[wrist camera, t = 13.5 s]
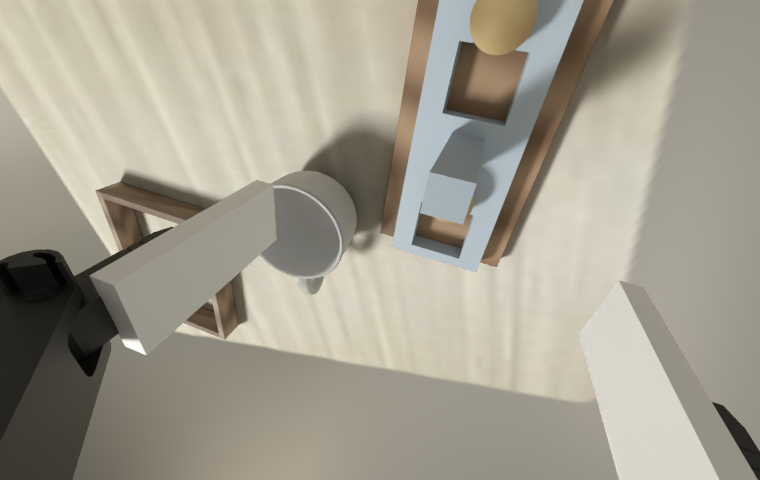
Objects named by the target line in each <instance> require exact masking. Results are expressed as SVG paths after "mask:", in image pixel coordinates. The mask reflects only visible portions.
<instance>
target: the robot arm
mask: <svg viewBox="0 0 760 480" xmlns="http://www.w3.org/2000/svg"><path fill="white" fill-rule="evenodd" d="M276 240H277V237H276V222H275V206H274V190H273V184H269V183H266V182H262V181H258V180H256V181H254V182H252V183H251V184H249V185H247V186H245V187H244V188H242V189H240V190H238V191H237V192H235V193H233V194H231V195H230V196H228V197H226V198H224V199H223V200H221V201H219V202H217V203H216V204H214V205H212V206H210V207H209V208H207V209H205V210H203V211H202V212H200V213H198V214H196V215H195V216H193V217H191V218H189V219H188V220H186V221H184V222H182V223H181V224H179V225H177V226H175V227H170V228H167V229H163V230H160V231H157V232H154V233H152V234H150V235H148V236H147V237H145V238H143V239H141V240H139V242H138V243H134V244H132V245H130V246H129V247H127V249H126V250H124V249H123V250H121V251H120V252H118V253H116V254H114V255H112V256H111V257H109V258H107V259H105V260H103V261H101V262H100V263H98V264H96V265H94V266H93V267H91V268H89V269H87V270H85V271H84V272H82V273H80V274H78V275H76V276H74V275H73V274H72V272H71V270H70V268H69V266H68V264H67V263H66V261H65V259H64V257H63V256H62V255H61V254H60V253H59V252H57V251H54V250H32V251H26V252H22V253H18V254H15V255H12V256H9V257H7V258H5V259H3V260H1V261H0V480H72V479H73V475H74V472H75V469H76V465H77V462H78V458H79V455H80V452H81V449H82V445H83V442H84V439H85V435H86V432H87V429H88V425H89V422H90V418H91V415H92V412H93V408H94V405H95V402H96V399H97V395H98V392H99V388H100V385H101V382H102V378H103V375H104V372H105V369H106V365H107V362H108V358H109V355H110V352H111V343H110V341H109V340H110V339H112V338H113V337H114V336H115V335H117V334H118V333H119V335H120V337H121V339H122V341H123V343H124V345H125V346H126V347H128V348H130V349H133V350H135V351H137V352H140V353H142V354H144V355H147V354H149V353H150V352H151V351H152V350H153V349H154V348H155V347H156V346H157V345H159V344H160V343H161V342H162V341H163V340H164V339H165V338H167V337H168V336H169V335H170V334H171V333H172V332H173V331H174V330H176V329H177V328H178V327H179V326H180V325H181V324H182V323H183V322H185V321H186V320H187V319H188V318H189V317H190V316H191V315H192V314H194V313H195V312H196V311H197V310H198V309H199V308H200V307H201V306H203V305H204V304H205V303H206V302H207V301H208V300H209V299H210V298H211V297H213V296H214V295H215V294H216V293H217V292H218V291H219V290H220V289H222V288H223V287H224V286H225V285H226V284H227V283H228V282H229V281H231V280H232V279H233V278H234V277H235V276H236V275H237V274H238V273H240V272H241V271H242V270H243V269H244V268H245V267H246V266H247V265H249V264H250V263H251V262H252V261H253V260H254V259H255V258H256V257H258V256H259V255H260V254H261V253H262V252H263V251H264V250H265V249H267V248H268V247H269V246H270V245H271V244H272V243H273V242H274V241H276ZM579 336H580V340H581V344H582V347H583V351H584V354H585V358H586V362H587V365H588V369H589V373H590V376H591V380H592V383H593V387H594V391H595V394H596V398H597V401H598V405H599V409H600V412H601V416H602V420H603V423H604V427H605V431H606V434H607V438H608V442H609V445H610V448H611V452H612V456H613V460H614V463H615V467H616V470H617V474H618V478H619V480H760V451H759V450H758V448H757V446H756V445H755V443H754V442H753V440H752V439H751V437H750V435H749V434H748V432H747V431H746V429H745V428H744V427H743V426H742V425H741V424H740V423H739V422H738V421H737V420H736V419H735V418H734V417H733V416H732V415H731V414H730V412H729V411H728V410H727V409H726V408H725V407H724V406H723V405H720V404H717V403H713V402H711V400H710V398H709V397H708V395H707V393H706V392H705V390H704V388H703V386H702V385H701V383H700V381H699V380H698V378H697V376H696V375H695V373H694V371H693V370H692V368H691V366H690V365H689V363H688V361H687V360H686V358H685V356H684V354H683V353H682V351H681V350H680V348H679V346H678V344H677V343H676V341H675V339H674V338H673V336H672V334H671V332H670V331H669V329H668V327H667V326H666V324H665V322H664V321H663V319H662V317H661V316H660V314H659V312H658V311H657V309H656V307H655V306H654V304H653V302H652V301H651V299H650V297H649V295H648V294H647V292H646V290H645V289H644V287H640V286H637V285H633V284H629V283H626V282H622V281H618V282H617V284H616V285H615V286H614V288H613V289H612V290H611V292H610V293H609V294H608V296H607V297H606V298H605V300H604V301H603V302H602V304H601V305H600V306H599V308H598V309H597V310H596V312H595V313H594V314H593V316H592V317H591V318H590V320H589V321H588V322H587V324H586V325H585V326H584V328H583V329H582V330H581V332H580V333H579Z"/></svg>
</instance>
